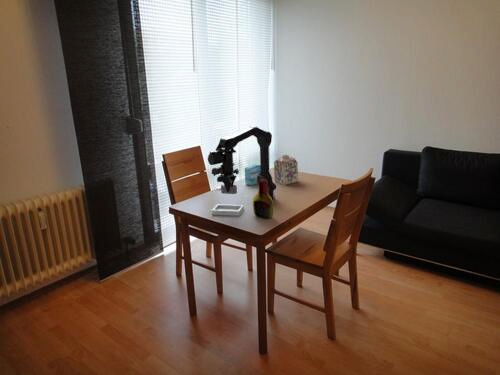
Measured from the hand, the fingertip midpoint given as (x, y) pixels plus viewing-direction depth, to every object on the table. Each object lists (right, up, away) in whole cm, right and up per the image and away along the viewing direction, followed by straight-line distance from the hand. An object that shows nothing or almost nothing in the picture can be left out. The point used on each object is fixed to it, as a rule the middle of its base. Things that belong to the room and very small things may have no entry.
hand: (229, 190), depth 190 cm
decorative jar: (+35, +5, +50) cm, 62 cm away
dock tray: (-1, -11, +2) cm, 12 cm away
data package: (+14, +4, +51) cm, 53 cm away
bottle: (+18, -13, -6) cm, 24 cm away
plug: (-1, -1, +1) cm, 2 cm away
